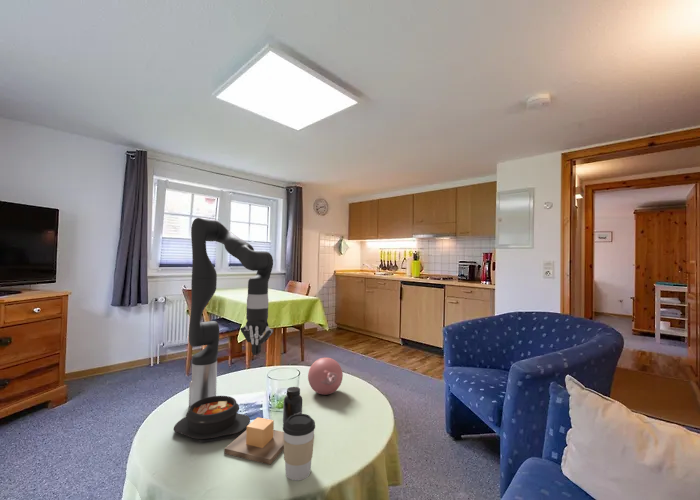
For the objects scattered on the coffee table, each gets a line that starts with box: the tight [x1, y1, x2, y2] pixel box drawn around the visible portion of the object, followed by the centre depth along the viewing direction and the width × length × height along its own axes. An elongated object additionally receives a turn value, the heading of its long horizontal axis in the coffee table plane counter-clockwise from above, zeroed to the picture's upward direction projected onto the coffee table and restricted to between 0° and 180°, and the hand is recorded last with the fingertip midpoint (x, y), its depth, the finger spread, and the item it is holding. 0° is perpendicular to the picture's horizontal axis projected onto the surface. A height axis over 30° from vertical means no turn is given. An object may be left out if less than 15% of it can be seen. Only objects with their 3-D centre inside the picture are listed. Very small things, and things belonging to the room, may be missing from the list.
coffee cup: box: [282, 413, 316, 481], centre depth 88 cm, size 9×9×15 cm
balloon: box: [307, 357, 344, 396], centre depth 137 cm, size 15×20×15 cm
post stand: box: [223, 429, 284, 466], centre depth 100 cm, size 16×14×6 cm
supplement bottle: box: [282, 386, 303, 423], centre depth 114 cm, size 7×7×12 cm
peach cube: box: [246, 416, 275, 448], centre depth 100 cm, size 6×6×6 cm
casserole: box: [173, 395, 251, 440], centre depth 109 cm, size 25×19×8 cm
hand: (256, 354), depth 112 cm, fingers closed
